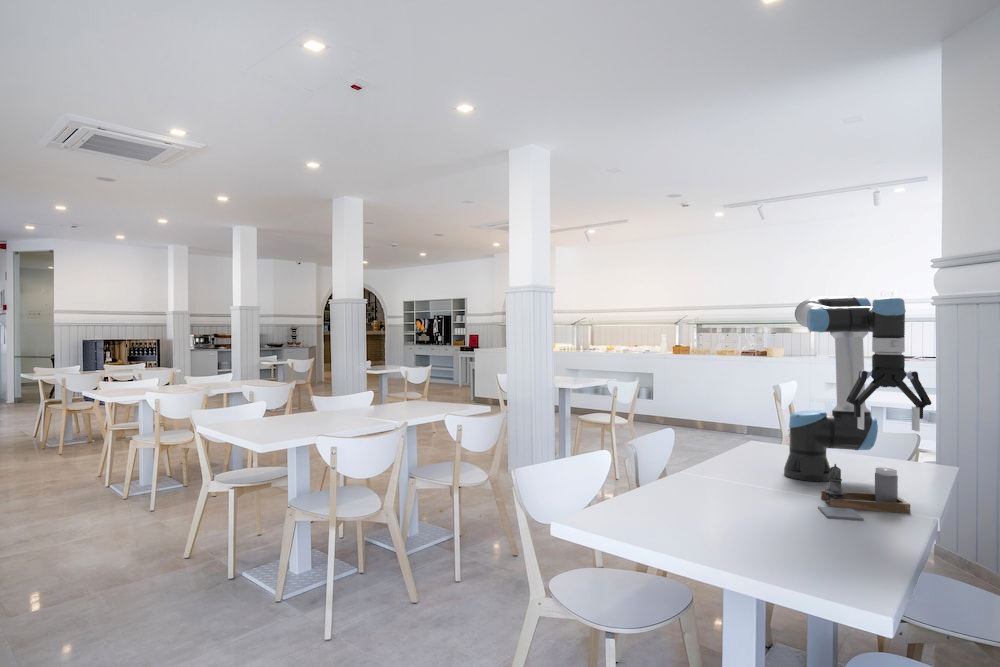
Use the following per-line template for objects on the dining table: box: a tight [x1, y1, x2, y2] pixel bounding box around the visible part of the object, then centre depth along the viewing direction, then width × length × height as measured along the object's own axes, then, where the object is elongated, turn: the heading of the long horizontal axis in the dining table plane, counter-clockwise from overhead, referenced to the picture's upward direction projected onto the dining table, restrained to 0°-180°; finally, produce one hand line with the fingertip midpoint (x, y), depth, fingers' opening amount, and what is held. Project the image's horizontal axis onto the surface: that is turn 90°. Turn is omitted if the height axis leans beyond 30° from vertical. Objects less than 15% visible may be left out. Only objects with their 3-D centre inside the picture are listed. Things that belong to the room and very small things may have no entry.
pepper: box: [874, 466, 899, 503], centre depth 170 cm, size 6×6×11 cm
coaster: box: [817, 505, 865, 521], centre depth 163 cm, size 9×9×1 cm
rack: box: [820, 489, 911, 514], centre depth 171 cm, size 10×20×2 cm, turn 76°
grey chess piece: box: [823, 463, 847, 506], centre depth 173 cm, size 6×6×12 cm
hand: (887, 429), depth 161 cm, fingers open, 13 cm apart
